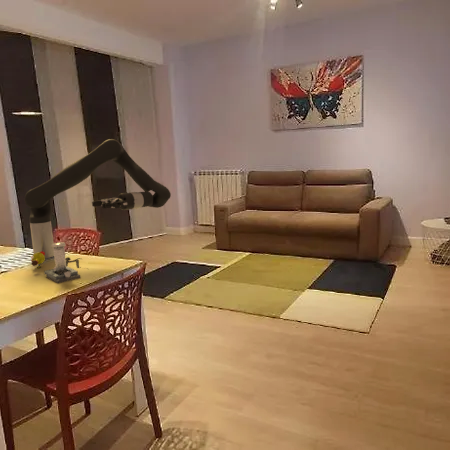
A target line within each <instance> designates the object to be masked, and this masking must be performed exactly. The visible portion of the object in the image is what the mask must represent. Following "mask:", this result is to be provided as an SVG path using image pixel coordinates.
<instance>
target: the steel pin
mask: <svg viewBox="0 0 450 450" xmlns="http://www.w3.org/2000/svg"><path fill="white" fill-rule="evenodd" d="M52 247H53V249H54V256H53V258H54V265H55V266H54V267H56V274H63V273H64V272H67V269H66V259H65V258H66V254H65V253H66V250H65V247H66V242H64V241H63V242H62V241H60V242H53V244H52Z"/></svg>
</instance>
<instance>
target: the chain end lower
mask: <svg viewBox="0 0 450 450" xmlns="http://www.w3.org/2000/svg"><path fill="white" fill-rule="evenodd" d="M64 274H65V277H64V278H60V279H54V278H52V277H50V276H48V275H46V278H47V279H49V280H50V281H52V282H55V283H57V284H62V283H65V282H69V281H74V280H76V279H81V274H79V273H78V274H76V275H72V276H71V274H70V271H67V272H64Z"/></svg>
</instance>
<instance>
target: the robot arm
mask: <svg viewBox="0 0 450 450" xmlns="http://www.w3.org/2000/svg"><path fill="white" fill-rule="evenodd" d="M108 161H112V162H114V163H116V164H117V165H118V166H120V167H121V168H122V169H123V170H124V171H125V172H126V173H127V175H129V177H131V179H132V180H133V181H134V182H135V183H136V184H137V185H138V186H139V188H140V189H142V191H139V192H138V191H132V192H123V193H119V194H118V197H112V198H103V199H102V198H101V199H99V200H95V201H92V202H91V203H92V204H91V205H92V207H101V209H110V208H111V209H118V208H119V209H120V210H122V211H128V210H135V209H139V208H147V207H149V208H162V207H163V206H165V204H167V202H169V199H171V197H172V196H171V195H172V193H171V191H170V190H169V188H168V187H166V186H165V185H163V184H162V183H160V182H158V181H156V180H155V179H154V178H153V177H152V176H151V175H150V174H149V173H148V172H146V170H144V169H143V168H142V167H141V166H140V165H139V164H137V163H136V162H135V160H134V159H133V158H132V157H131V156H130V154H129V153H128V152H127V151H126V149H125V148H124V146H123V144H122V143H120V142H119V141H118V140H116V139H113V138H111V139H110V138H109V139H106V140H104V141H103V142H102V143H101V144H99V145H98V146H97V147H96V148H95V149H93V150H92V151H91V152H89V153H87V154H86V155H83V156H82V157H81V158H79V159H77V160H76V161H74V162H72V163H71V164H69V165H68V166H66V167H64V168H63V169H62V170H60V171H59V172H58V173H56V174H55V175H54V176H52V177H51V178H50V179H48V180H47V181H45V182H44V183H41V184H40V185H38V186H36V187H34V188H31V189H29V190H28V191H27V192H26V193H25V195H24V203H25V205H26V206H27V207H28V208H30V215H29V226H30V235H31V244H32V252H33V254H35V253H38V252H39V253H40V252H41V251H43V252H45V255H44V256H45V260H46V259H50V258H54V249H53V247H52V244H53V243H54V236H53V225H52V219H51V218H52V206H51V205H52V204H51V200H52V199H53V198H54V197H55V196H57V195H59V194H61V193H63V192H65V191H67V190H69V189H71V188H74V187H76V186H78V185H79V184H81V183H82V182H83V181H85V180H86V179H88V178H89V177H90V176H91V175H92V174H93V173H94V172H95V170H96V169H97V168H99V167H100V166H102V165H103V164H106V163H107V162H108ZM151 191H152V192H154V194H153V193H151Z"/></svg>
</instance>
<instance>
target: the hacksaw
mask: <svg viewBox="0 0 450 450" xmlns="http://www.w3.org/2000/svg"><path fill="white" fill-rule="evenodd" d="M65 259H66V266H67V267H69V266H68V265H69V263H74V262H75V265H76V266H75V267H76V269H81V268H82V266H80V260H83V259H82V258H80V257H77V258H75V259H73V260H71V257H69V256H68V257H65ZM79 259H80V260H79ZM82 269H87V270H89V268H86V267H85V268H82Z"/></svg>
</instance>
